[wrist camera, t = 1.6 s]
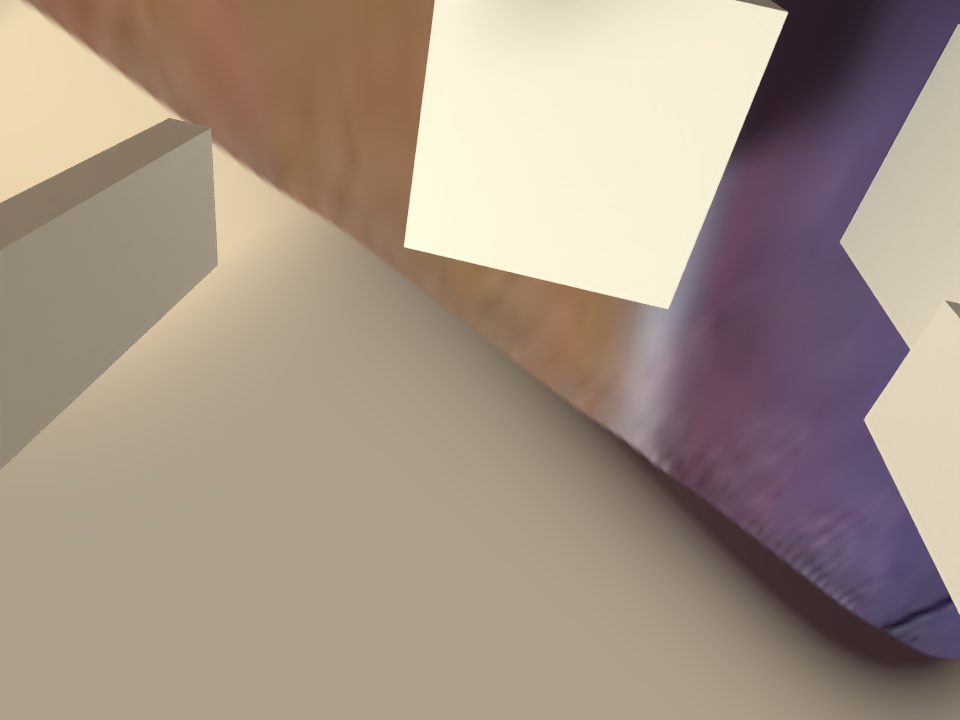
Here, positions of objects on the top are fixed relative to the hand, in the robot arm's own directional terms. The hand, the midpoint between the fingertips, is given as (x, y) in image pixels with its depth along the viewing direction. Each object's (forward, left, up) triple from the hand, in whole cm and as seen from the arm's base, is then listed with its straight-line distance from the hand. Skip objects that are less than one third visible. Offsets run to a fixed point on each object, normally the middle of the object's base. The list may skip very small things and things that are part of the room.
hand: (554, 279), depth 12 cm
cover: (0, 0, -16) cm, 16 cm away
